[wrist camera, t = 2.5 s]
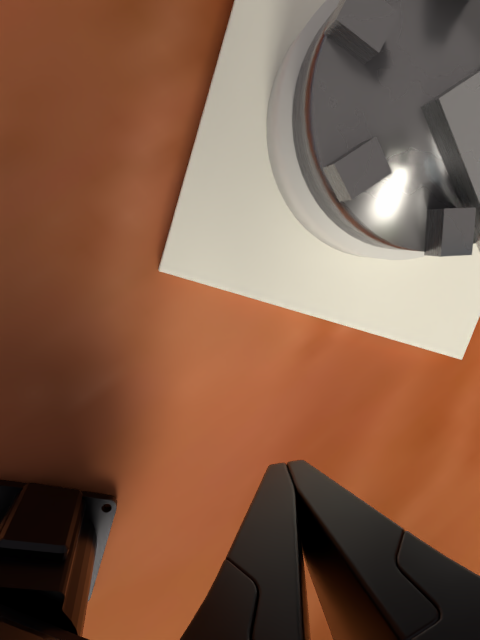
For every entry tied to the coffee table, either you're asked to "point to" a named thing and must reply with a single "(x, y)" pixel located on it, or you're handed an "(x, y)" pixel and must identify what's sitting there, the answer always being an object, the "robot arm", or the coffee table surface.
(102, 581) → the coffee table surface
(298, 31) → the mounting plate
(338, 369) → the coffee table surface
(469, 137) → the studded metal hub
